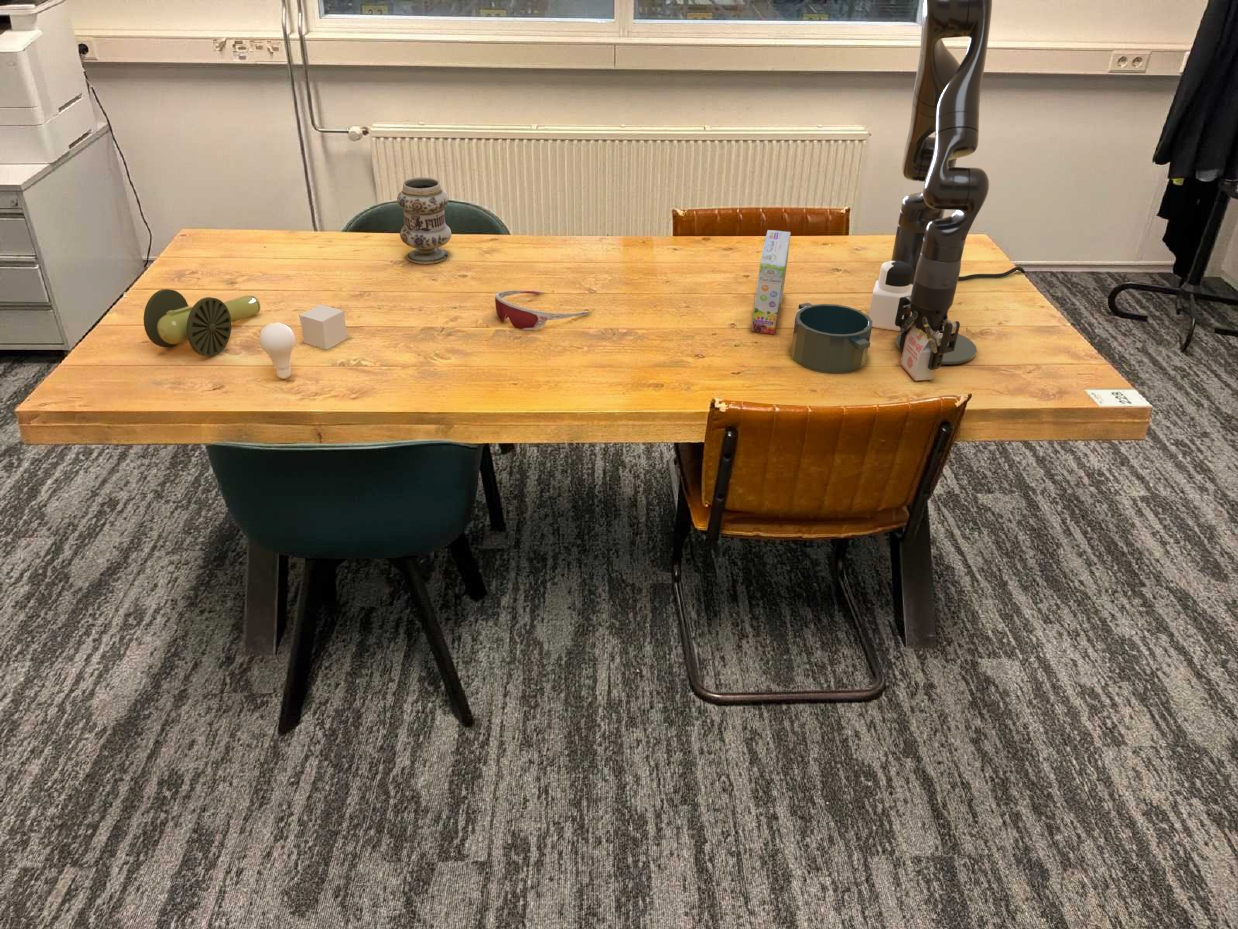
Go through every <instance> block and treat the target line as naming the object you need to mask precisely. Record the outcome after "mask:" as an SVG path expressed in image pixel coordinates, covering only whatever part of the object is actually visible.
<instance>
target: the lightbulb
mask: <svg viewBox="0 0 1238 929" xmlns="http://www.w3.org/2000/svg"><path fill="white" fill-rule="evenodd" d="M258 340H259V345H260V347H261V349H262V351H264V352H265V354H266V355H267V356H268V358H270V360H271V362H272V366H273V367H274V369H275V373H276V376H277V377H278V378H279V379H283V380H287V379H288V378H289V377H291V375H292V367H291V365H292V360H291V358H292V352H293V350H294V347H295V343H296V336H295V334H294V332H293V330H292V329H291V327H289V326H288V325H286V324H284V323H282V322H271V323H268V324H266V325H265V326H264V327H263V328H262V329H261V331H260V333H259V337H258Z"/></svg>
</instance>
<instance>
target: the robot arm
mask: <svg viewBox="0 0 1238 929" xmlns="http://www.w3.org/2000/svg"><path fill="white" fill-rule="evenodd" d="M992 12H993V0H923V6H922V15H921V16H922V17H921V31H920V32H921V34H920V46H919V47H920V49H919V57H918V63H917V69H916V74H915V79H914V80H915V81H914V85H913V91H912V92H913V93H912V102H911V114H910V122H909V129H908V133H907V138H906V142H905V147H904V151H903V156H902V162H901V170H902V175H903V177H904V178H905V179H906V180H909V181H913V182H919V183H920V182H921V183H923V186H922V191H919V192H915V193H911V194H908V195H906V196H905V197H904V198H903V199H902V201H901V206H900V210H899V216H898V222H897V228H896V233H895V238H894V243H893V249H892V254H891V259H890V261H902V262H905V263H907V264H909V265H911V266H912V267H913V269H914V271H913V276H912V281H911V285H913V287H912V292H911V295H910V296H904V297H901V298H900V300H899V305H898V310H897V314H896V319H895V325H896V326H899V327H900V331H901V332H902V334H901V339H900V349H899V351H901V352H902V353H903V348H904V343H905V338H906V335H907V334H908V332H909V331H910V329H911V328H912V327H914V326H915V325H916V328H917V329H921V330H922V331H923V332H924V333H926V334H927V339H928V341H930V342H931V347H932V351H931V355H930V360H929V364H928V368H929V369H930V370H935V371H936V370H938V369H940V368H941V366H942V365H943V364H942V359H943V355H944V353H949V352H953V351H954V349H955V345H956V340H957V336H958V334H959V331H960V327H961V323H960V322H959V321H958V320H955V321H953V320H950V319H949V315H948V312H949V310H950V309H951V307H952V306H953V303H954V301H955V300H954V299H955V296H956V291H957V285H958V282H960V281H961V282H962V281H968V280H971V279H972V280H973V279H999V278H1005V277H1007V276H1010V275H1011V274H1013V273H1015V272H1017V271H1016V270H1018V272H1019V273H1021V274H1026V271H1025V269H1024V268H1023V267H1022V266H1014V267H1013V268H1011V269H1009V270H1007V271H1005V272H1001V273H973V274H969V275H968V274H967V275H964V276H960V273H961V266H962V258H963V254H964V250H965V249H964V248H965V245H966V240H967V238H968V234H969V232H970V230H971V228H972V226H973V224H974V222H975V220H976V218H977V216H978V214H979V213H980V212H981V211H980V210H981V209H982V207H983V205H984V203H985V201H986V199H987V198H988V194H989V190H990V180H989V176H988V174H987V172H986V171H985V170H983V169H982V168H979V167H971V166H970V167H969V166H968V167H964V166H962V167H961V166H956V164H957V161H958V159H961V158H964V157H968V156H970V155H972V154H974V153H976V151H977V149H978V146H979V137H980V136H979V132H980V102H981V91H982V84H983V78H984V72H985V67H986V66H985V65H986V59H987V51H988V44H989V36H990V29H991V28H990V27H991V20H992V19H991V18H992ZM950 38H952V39H953V38H969V40H968V46H967V50H966V52H965V55H964V58H963V59H962V61H961V63H959V61H958V60H957V59H956V57H955V56H954V55H953V54H952V53H951V51H949V49H948V48H947V46H946V45H945V43H944V41H943V39H950ZM934 133H935V134H934ZM932 134H934V136H931V135H932ZM945 210H946V211H947V210H949V211H954V212H953V213H952V214H951V215H950V216H947V217H944V215H945ZM903 315H904V318H903V319H902V316H903ZM938 330H939V334H938V335H934V334H933V331H935V332H937V331H938ZM900 331H899V332H900ZM901 332H900V333H901ZM937 339H938V340H939V343H940V345H939V346H938V344H937ZM948 342H949V345H948Z"/></svg>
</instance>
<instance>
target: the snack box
mask: <svg viewBox="0 0 1238 929" xmlns="http://www.w3.org/2000/svg"><path fill="white" fill-rule="evenodd" d="M791 234H792V233H791V231H785V230H784V231H782V230H774V229H773V230H772V229H767V231H766V235H765V239H764V244H763V248H762V252H761V257H760V263H759V270H758V277H757V284H756V291H755V296H754V297H755V298H754V299H755V300H754V306H753V316H752V324H751V330H750V331H751V332H755V333H762V334H769V335H775V334H776V330H777V326H778V322H779V317H780V311H781V306H782V303H783V302H782V301H783V295H784V290H785V283H786V274H787V267H788V259H789V252H790V242H791Z"/></svg>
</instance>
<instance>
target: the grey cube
mask: <svg viewBox="0 0 1238 929" xmlns="http://www.w3.org/2000/svg"><path fill="white" fill-rule="evenodd" d="M298 317H299V322H300V328H301V333H302V338H303V342H304V344H306V345H307V344H308V345H310V346H314V347H316V348H321V349H323V350H329V349H331V348H333V347H334V346H336V345H338V344H340V343H342V342H344V341H345V340H347V339H349V337H348V330H347V324H346V323H347V322H346V316H345V311H344V310H343V309H339V308H336V307H332V306H329V305H324V304H318V305H317V306H315V307H313V308H311V309H309V310H306V311H304V312H303V313H301V314H298Z"/></svg>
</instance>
